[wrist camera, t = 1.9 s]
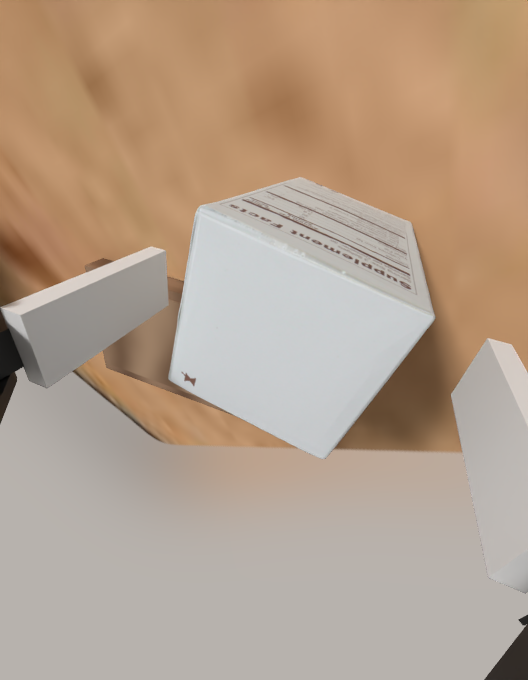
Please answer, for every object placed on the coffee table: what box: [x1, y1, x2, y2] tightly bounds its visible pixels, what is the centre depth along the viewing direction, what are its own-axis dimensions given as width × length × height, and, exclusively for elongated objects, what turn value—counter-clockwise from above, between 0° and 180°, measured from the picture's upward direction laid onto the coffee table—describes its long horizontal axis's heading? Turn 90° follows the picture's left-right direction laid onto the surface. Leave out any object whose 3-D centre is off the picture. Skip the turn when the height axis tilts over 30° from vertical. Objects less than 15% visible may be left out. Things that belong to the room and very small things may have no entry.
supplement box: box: [168, 177, 436, 459], centre depth 15 cm, size 7×7×13 cm
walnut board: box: [85, 258, 235, 416], centre depth 27 cm, size 18×11×2 cm, turn 81°
